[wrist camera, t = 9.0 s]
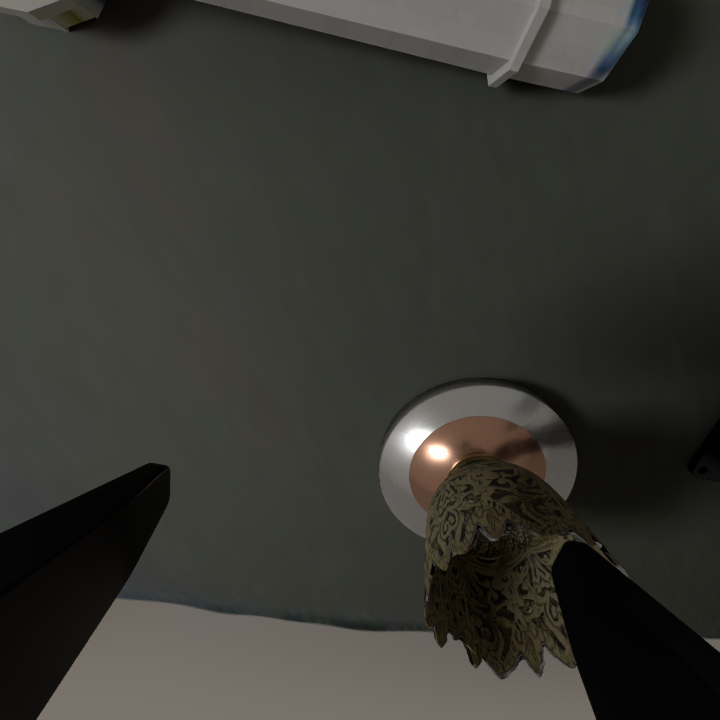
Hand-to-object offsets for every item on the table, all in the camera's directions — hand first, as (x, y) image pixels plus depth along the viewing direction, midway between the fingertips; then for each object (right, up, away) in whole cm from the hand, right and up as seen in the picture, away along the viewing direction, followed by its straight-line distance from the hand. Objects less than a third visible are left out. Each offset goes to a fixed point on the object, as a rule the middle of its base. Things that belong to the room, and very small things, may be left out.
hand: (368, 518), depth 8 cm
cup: (+6, -3, +13) cm, 15 cm away
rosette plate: (+7, -3, +14) cm, 16 cm away
